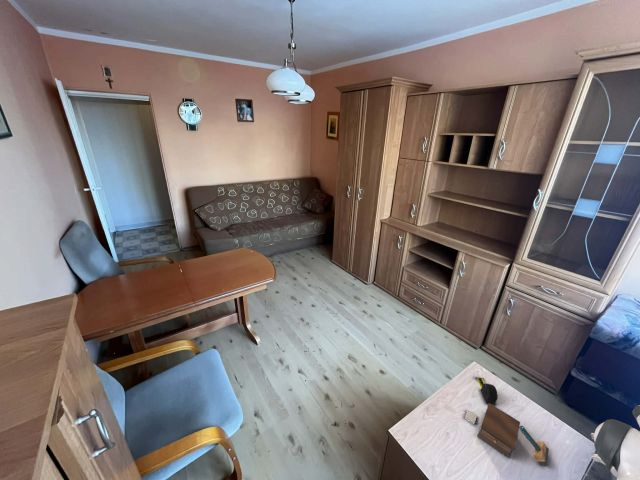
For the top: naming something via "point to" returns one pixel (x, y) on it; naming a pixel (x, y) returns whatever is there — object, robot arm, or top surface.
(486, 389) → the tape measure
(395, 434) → the top surface
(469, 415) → the felt pad
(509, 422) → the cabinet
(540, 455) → the brush
